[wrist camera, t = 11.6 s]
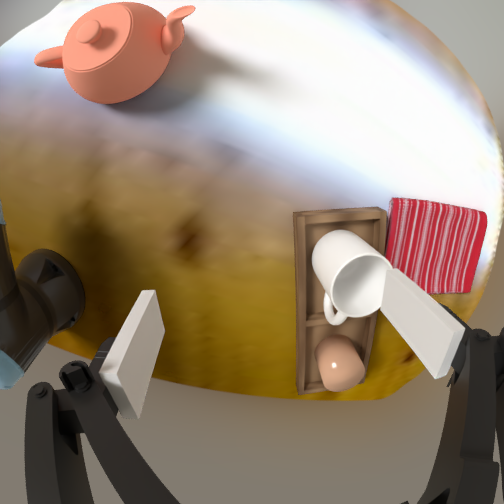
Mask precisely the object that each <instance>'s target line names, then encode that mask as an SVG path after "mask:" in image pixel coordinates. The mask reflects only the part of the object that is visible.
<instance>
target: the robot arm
mask: <svg viewBox="0 0 504 504" xmlns="http://www.w3.org/2000/svg"><path fill="white" fill-rule="evenodd" d="M5 225H6V222H5V220H4V217H3V211H2V205H1V200H0V389H3V390H6V389H10V388H12V387H13V386H14V384H15V383H16V382H17V381H18V380H19V379H20V378H21V377H23V376H24V373H25V372H26V370H27V369H28V368H29V366H30V365H31V363H32V362H33V361H34V359H35V358H36V357H37V355H38V354H39V352H40V351H41V350H42V348H43V347H44V346H45V345H46V343H47V342H48V341H49V339H50V338H51V337H52V336H54V335H56V334H58V333H60V332H62V331H64V330H67V329H69V328H71V327H72V326H73V325H74V324H75V323H76V322H77V321H78V320H79V318H80V317H81V316H82V314H83V311H84V308H85V295H84V290H83V287H82V284H81V281H80V279H79V277H78V275H77V274H76V272H75V270H74V269H73V268H72V266H71V265H70V264H69V263H68V262H67V261H66V260H65V259H64V258H63V257H62V256H60V255H59V254H57V253H56V252H54V251H51V250H48V249H38V250H35V251H33V252H32V253H30V254H28V255H27V256H26V257H25V258H24V259H23V260H22V261H21V263H20V264H19V266H18V267H17V269H16V271H14V267H13V263H12V258H11V254H10V249H9V244H8V238H7V233H6V226H5ZM380 310H381V311H382V312H383V314H384V315H385V316H386V317H387V319H388V320H389V321H390V322H391V323H392V325H393V326H394V327H395V328H396V330H397V331H398V332H399V333H400V335H401V336H402V337H403V338H404V340H405V341H406V342H407V343H408V345H409V346H410V347H411V349H412V350H413V351H414V352H415V354H416V355H417V356H418V358H419V359H420V360H421V361H422V363H423V364H424V365H425V367H426V368H427V369H428V370H429V372H430V373H431V375H432V376H433V377H434V379H438V378H440V377H443V376H445V375H447V373H448V370H449V368H450V366H452V367H453V368H454V372H453V374H452V377H451V378H450V380H449V383H448V385H447V387H449V385H450V384H451V388H450V395H449V402H448V408H447V413H446V418H445V424H444V428H443V432H442V437H441V441H440V445H439V449H438V453H437V456H436V460H435V463H434V467H433V470H432V473H431V476H430V479H429V482H428V485H427V488H426V490H425V492H424V494H423V495H422V497H421V498H420V500H419V501H418V503H417V504H493V502H494V498H495V492H496V487H497V482H498V476H499V463H498V462H493V451H494V442H495V428H496V432H497V439H498V445H499V453H500V462H501V474H502V490H503V500H504V328H502V330H501V333H500V335H499V336H491V335H490V334H489V333H488V332H487V331H485V330H482V329H473V330H472V329H471V328H470V327H469V326H468V325H467V324H466V323H465V322H463V321H462V320H461V319H460V318H459V317H457V315H456V314H455V313H453V312H452V311H451V310H450V309H449V308H448V307H447V306H445V305H443V304H441V303H437V302H436V301H435V300H434V299H433V298H432V297H430V296H429V295H428V294H427V293H426V292H425V291H424V290H422V289H421V288H420V287H419V286H418V285H417V284H415V283H414V282H413V281H412V280H411V279H409V278H408V277H407V276H406V275H405V274H403V273H402V272H401V271H400V270H399V269H397V268H395V269H387V270H386V277H385V284H384V291H383V297H382V303H381V309H380ZM164 333H165V329H164V325H163V321H162V317H161V313H160V309H159V304H158V300H157V296H156V291H155V290H142V292H141V294H140V295H139V297H138V299H137V301H136V302H135V304H134V306H133V308H132V310H131V311H130V313H129V315H128V317H127V319H126V321H125V322H124V324H123V326H122V328H121V330H120V332H119V334H118V335H117V337H109V338H108V339H106V340H105V341H104V342H103V343H102V344H101V346H100V348H99V349H98V352H97V353H96V355H95V358H93V360H92V362H91V364H90V366H89V367H88V365H87V364H86V363H85V362H83V361H72V362H69V363H68V364H66V365H65V366H63V368H61V370H60V372H59V378H60V379H61V381H62V383H63V385H64V386H65V388H66V389H61V390H54V389H53V387H52V386H51V385H50V384H49V383H47V382H40V383H37V384H35V385H34V386H32V387H31V389H30V390H29V392H28V397H27V407H26V420H25V421H26V422H25V477H26V489H27V499H28V504H94V501H93V497H92V493H91V489H90V485H89V481H88V477H87V472H86V467H85V462H84V457H83V451H82V445H81V438H80V433H85V434H86V436H87V438H88V441H89V443H90V445H91V447H92V449H93V451H94V453H95V455H96V456H97V458H98V460H99V462H100V464H101V466H102V468H103V469H104V471H105V473H106V475H107V476H108V478H109V480H110V482H111V483H112V485H113V486H114V488H115V489H116V491H117V493H118V494H119V496H120V497H121V499H122V500H123V502H124V503H125V504H180V503H179V502H178V500H177V499H176V498H175V497H174V496H173V495H172V494H171V493H170V491H169V490H168V489H167V488H166V487H165V486H164V484H163V483H162V482H161V481H160V479H159V478H158V477H157V476H156V474H155V473H154V472H153V471H152V469H151V468H150V467H149V465H148V464H147V463H146V461H145V460H144V459H143V457H142V456H141V454H140V453H139V452H138V450H137V449H136V447H135V446H134V444H133V443H132V441H131V440H130V438H129V437H128V436H127V434H126V432H125V431H124V429H123V428H122V426H121V425H120V423H119V421H118V420H117V418H116V415H117V413H118V410H119V412H120V414H121V415H122V417H123V418H126V419H137V420H139V419H140V415H141V411H142V408H143V404H144V400H145V397H146V393H147V390H148V386H149V383H150V379H151V376H152V372H153V369H154V366H155V362H156V359H157V356H158V352H159V349H160V346H161V343H162V339H163V336H164ZM401 504H409V503H408V501H406V502H404V503H401Z"/></svg>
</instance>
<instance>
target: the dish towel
mask: <svg viewBox="0 0 504 504" xmlns="http://www.w3.org/2000/svg"><path fill="white" fill-rule="evenodd" d="M486 228H487V215H486V213H485V212H482V211H478V210H475V209H469V208H464V207H459V206H454V205H450V204H443V203H438V202H432V201H428V200H418V199H406V198H392V199H391V201H390V203H389V212H388V218H387V224H386V235H385V250H384V257H385V258H386V259H387V260H388V261H389V262H390V264H391V265H392V267H393V269H395V268H397V269H399V270H400V271H401V272H402V273H403V274H405V275H406V276H407V277H408V278H409V279H411V280H412V281H413V282H414V283H415V284H417V285H418V286H419V287H420V288H421V289H422V290H424V291H425V292H426V293H427V294H428V295H430V294H441V293H442V294H443V293H444V294H448V293H468V292H470V291H471V286H472V282H473V279H474V275H475V271H476V267H477V264H478V260H479V256H480V252H481V248H482V244H483V240H484V236H485V232H486Z"/></svg>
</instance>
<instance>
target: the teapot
mask: <svg viewBox="0 0 504 504" xmlns="http://www.w3.org/2000/svg"><path fill="white" fill-rule="evenodd" d="M194 10H195V7H194V6H184V7H180V8H178V9H176V10H174V11H172V12H171V13H170V14H169V15H168V17H167V19H166V18H165V17H164V16H163V15H162V14H161V13H159V12H158V11H157V10H155V9H153V8H152V7H149V6H147V5H144V4H140V3H134V2H119V3H111V4H106V5H103V6H99V7H97V8H94V9H92V10H90V11H89V12H87V13H86V14H84V15H83V16H81V17H80V18H79V19H78V20H77V21H76V22H75V23H74V24H73V25H72V27H71V28H70V30H69V32H68V33H67V36H66V38H65V41H64V45H63V46H58V47H54V48H50V49H46V50H44V51H41V52H40V53H38V54H37V55H36V57H35V59H34V63H35V64H36V65H37V66H40V67H47V68H62V69H64V73H65V76H66V78H67V81H68V82H69V84H70V86H71V87H72V88H73V89H74V91H75V92H76V93H78V94H79V95H80V96H82V97H83V98H85V99H87V100H89V101H92V102H95V103H100V104H113V103H119V102H123V101H126V100H128V99H131V98H133V97H135V96H137V95H139V94H141V93H142V92H144V91H145V90H147V89H148V88H150V87H151V86H152V85H153V84H154V83H155V82H156V81H157V80H158V79H159V78H160V76H161V75H162V74H163V72H164V71H165V69H166V67H167V65H168V63H169V60H170V57H171V53H172V52H173V51H174V50H176V49H177V48H178V47H179V46H180V45H181V43H182V41H183V38H184V27H183V24H182V20H183V19H184V18H185V17H187V16H188V15H190V14H191V13H193V12H194Z"/></svg>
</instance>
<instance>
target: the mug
mask: <svg viewBox="0 0 504 504" xmlns="http://www.w3.org/2000/svg"><path fill="white" fill-rule="evenodd" d="M312 266H313V269H314V271H315V274H316V275H317V277H318V279H319V281H320V282H321V284H322V286H323V288H324V289H325V295H324V313H325V317H326V319H327V321H328V322H329V323H330V324H332V325H340V324H341V323H343V322H344V321H345V320H346V318H347V317H363V316H367V315H369V314H371V313H373V312H375V311H377V310H378V309H379V308H380V307H381V303H382V297H383V291H384V284H385V277H386V270H387V269H393V267H392V265H391V264H390V262H389V261H388V260H387V259H386V258H385V257H384V256H382V255H381V254H380V253H379V252H378V251H376V250H375V249H374V248H373V247H371V246H370V245H369V244H368V243H366V242H365V241H364V240H363V239H361V238H360V237H359V236H358V235H356V234H355V233H353V232H350V231H347V230H334V231H331V232H329V233H327V234H326V235H324V236H323V237H322V238H321V239H320V240H319V241H318V242H317V244H316V245H315V247H314V250H313V253H312ZM333 305H334V307H335V308H336V309H337V311H338V312H337V313H336V315H335V314H334V311H333Z"/></svg>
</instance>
